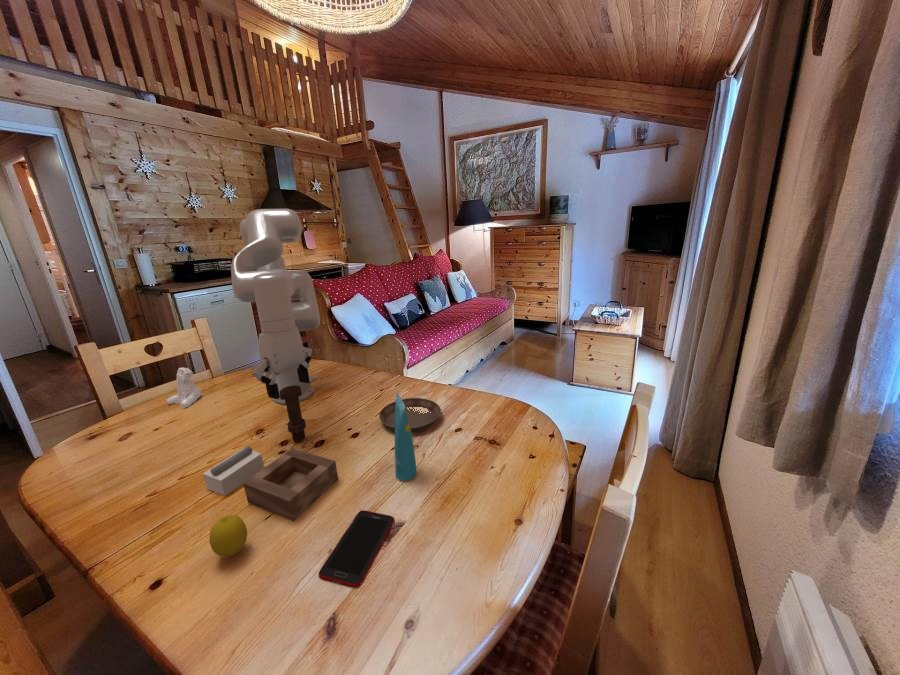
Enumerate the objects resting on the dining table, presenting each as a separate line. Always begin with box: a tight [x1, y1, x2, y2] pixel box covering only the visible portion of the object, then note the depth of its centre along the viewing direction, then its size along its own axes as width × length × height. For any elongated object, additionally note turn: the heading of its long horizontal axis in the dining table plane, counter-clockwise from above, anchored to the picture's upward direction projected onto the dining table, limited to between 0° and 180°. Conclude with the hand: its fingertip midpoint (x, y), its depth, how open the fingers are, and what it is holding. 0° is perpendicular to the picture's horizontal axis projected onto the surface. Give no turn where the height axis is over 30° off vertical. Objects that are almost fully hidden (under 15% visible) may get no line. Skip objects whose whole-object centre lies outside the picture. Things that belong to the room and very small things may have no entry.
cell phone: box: [318, 509, 395, 589], centre depth 66 cm, size 8×15×1 cm, turn 164°
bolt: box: [280, 385, 307, 444], centre depth 96 cm, size 6×5×15 cm
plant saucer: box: [378, 397, 442, 434], centre depth 106 cm, size 18×18×3 cm
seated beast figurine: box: [166, 366, 202, 409], centre depth 120 cm, size 10×9×12 cm
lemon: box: [209, 514, 248, 558], centre depth 64 cm, size 6×6×8 cm
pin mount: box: [202, 445, 265, 497], centre depth 83 cm, size 10×6×6 cm, turn 156°
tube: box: [394, 392, 418, 482], centre depth 81 cm, size 7×5×19 cm, turn 26°
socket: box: [242, 447, 339, 522], centre depth 79 cm, size 13×13×5 cm
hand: (290, 389), depth 93 cm, fingers open, 9 cm apart
